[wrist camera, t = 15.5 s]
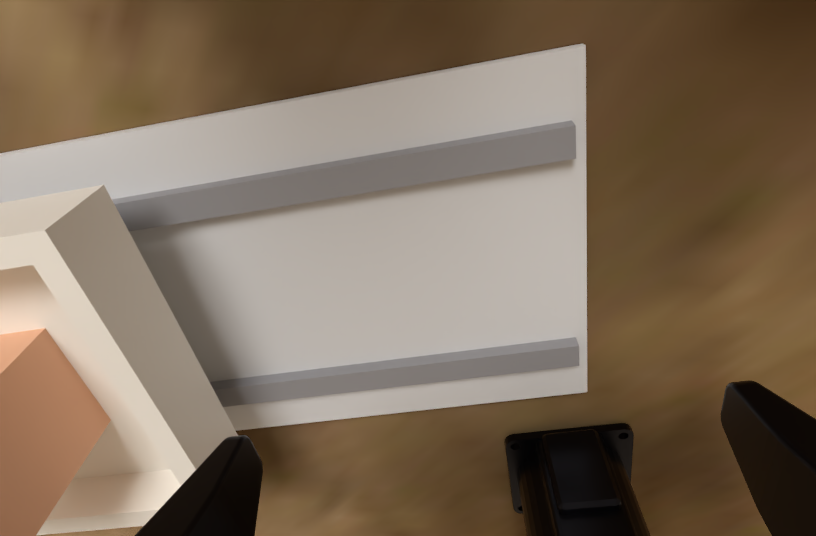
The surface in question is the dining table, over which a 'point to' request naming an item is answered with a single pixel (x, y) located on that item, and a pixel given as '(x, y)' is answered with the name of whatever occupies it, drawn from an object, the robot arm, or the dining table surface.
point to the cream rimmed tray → (109, 354)
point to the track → (362, 238)
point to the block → (40, 428)
